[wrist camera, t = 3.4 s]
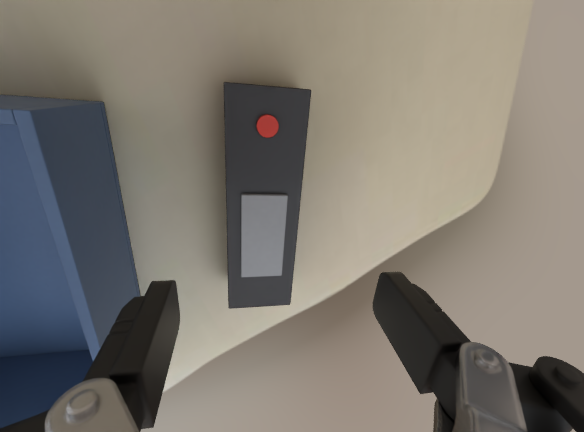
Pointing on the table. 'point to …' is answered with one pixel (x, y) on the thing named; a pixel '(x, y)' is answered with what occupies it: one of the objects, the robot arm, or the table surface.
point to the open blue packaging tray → (57, 248)
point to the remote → (263, 189)
